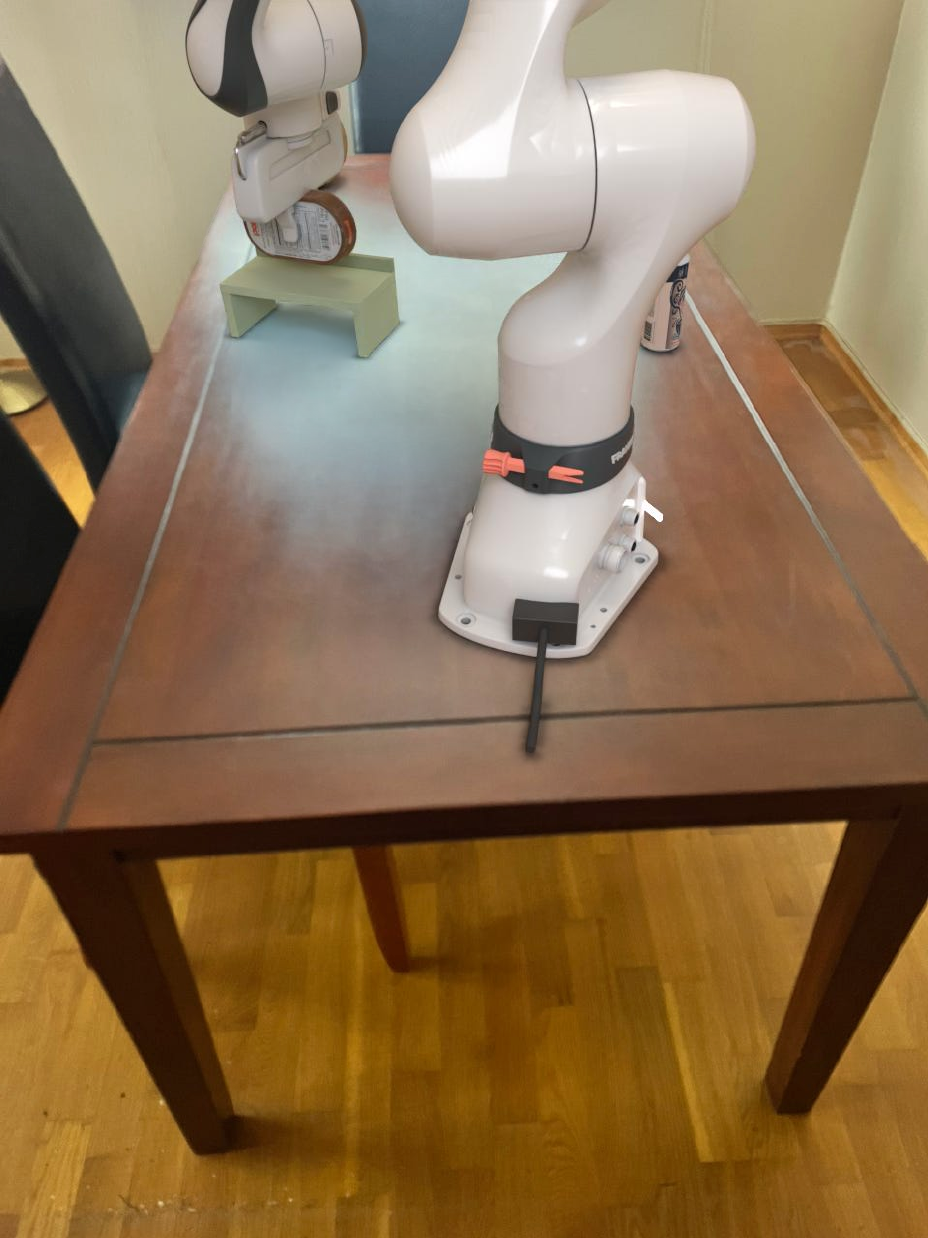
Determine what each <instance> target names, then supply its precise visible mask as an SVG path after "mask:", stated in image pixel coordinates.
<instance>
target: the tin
mask: <svg viewBox="0 0 928 1238" xmlns="http://www.w3.org/2000/svg"><path fill="white" fill-rule="evenodd" d="M293 208H294V213H293V214H292V216H293V218H294V220H295V223H297V224H300V226H301V233H302V237H301V238H300V239H299V240H297V241H296V242H286V241H285V240H284V238H283V232H282V227H281V226H280V224H279V223H278V221H277V220H276V218H273V219H272V220H271V221H269V222H267V223H253V222H247V221H244V220H242V223H243V227H244V230H245V233H246V236H247V237H248V239H249V240H250V243H251V244H252V245H253V246H254V248H255V247H256V248H257V249H258V250H260V251H261V252H262V253H264V254H266V255H268V256H270V257H273V258H279V259H285V260H292V261H298V262H305V263H311V264H317V265H332V264H335V263H337V262H338V261H340V260H341V259H342V258H344V257H346V256H347V255H349V254H350V253H352V252H353V250H354V248H355V246H356V242H357V237H358V236H357V235H358V234H357V233H358V231H357V226H356V221H355V219H354V217H353V214H352V213H351V210H350V209H349V207H348V205H346V204H345V202H343V200H342V199H341V198H339V197H338V196H336V195H335V194H334V193H331V192H329V191H326V190H323V189H322V190H321V189H318V190H314V189H311V190H310V191H309V192H308V193H307V194H305V195H304V196H303V197H302V198H301V199H300V200H299V201H298V202H296V203H295V204H293Z"/></svg>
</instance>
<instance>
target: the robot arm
mask: <svg viewBox="0 0 928 1238" xmlns="http://www.w3.org/2000/svg"><path fill="white" fill-rule="evenodd" d="M611 1H612V0H469V1H468V6H467V11H466V15H465V18H464V22H463V25H462V28H461V31H460V34H459V37H458V40H457V42H456V44H455V46H454V48H453V51H452V53H451V55H450V57H449V59H448V61H447V62H446V65H445V66H444V68H443V69H442V70H441V71H442V72H440V74H439V75H438V77H437V78H436V80H435V82H434V83H433V84H432V85H431V87H430V88H429V89H428V90H427V92H426V93H425V94H424V95H423V96H422V97H421V99H419V101H418V102H417V103H416V104H415V105H413V107H412V108H411V109H410V110H409V112H408V113H407V115H406V116H405V117H404V120H402V123H401V124H400V126H399V129H398V131H397V133H396V135H395V138H394V141H393V143H392V148H391V152H390V157H389V166H388V181H389V182H388V183H389V190H390V195H391V200H392V204H393V207H394V210H395V212H396V214H397V217H398V219H399V221H400V223H401V226H402V227H403V228H404V230H405V232H406V233H407V234H408V236H409V237H410V238H411V239H412V241H413V242H414V243H415V244H416V246H418V247H419V248H420V249H421V250H422V251H423V252H425V253H427V255H429V256H432V257H433V256H434V257H440V258H441V257H442V258H450V259H457V260H458V259H459V260H469V261H471V260H472V261H484V262H494V261H502V260H504V261H505V260H510V259H511V260H512V259H519V258H528V257H535V256H546V255H552V254H562V253H565V256H564V257H563V258H562V260H561V262H560V263H559V264H558V265H557V267H556V268H555V269H554V270H553V271H552V273H551V274H549V275H548V276H547V277H546V278H545V279H544V280H542V281H541V282H539V283H538V284H537V285H535V286H534V287H532V288H531V289H529V290H528V291H527V292H525V293H524V294H523V295H521V296H520V297H519V298H518V299H517V300H516V301H514V303H513V304H512V305H511V306H510V308H509V309H508V311H507V313H506V314H505V316H504V318H503V320H502V322H501V325H500V327H499V331H498V333H497V340H496V341H497V343H496V344H497V383H498V384H497V389H498V390H497V392H498V393H497V394H498V395H497V397H498V402H497V404H496V405H495V409H494V413H493V420H492V424H491V427H490V428H491V429H490V448H488V449H487V450H486V451H485V453H484V455H483V460H482V471H483V475H482V477H481V482H480V485H479V490H478V494H477V498H476V501H475V503H474V505H473V506H472V509H471V511H470V512H468V513H467V514H466V516H465V519H464V521H463V526H462V529H461V532H460V536H459V539H458V542H457V545H456V548H455V552H454V556H453V559H452V561H451V566H450V569H449V571H448V575H447V578H446V582H445V585H444V589H443V591H442V594H441V595H442V596H441V599H440V601H439V606H438V615H437V618H438V619H439V621H440V622H441V623H442V624H443V625H444V626H445V627H447V628H448V629H449V630H450V631H452V632H454V633H455V634H457V635H459V636H461V637H463V638H465V639H467V640H470V641H472V642H474V643H477V644H480V645H483V646H486V647H489V648H492V649H493V648H494V649H496V650H499V651H503V652H507V653H512V654H516V655H522V656H527V657H533V658H534V657H535V658H536V659H535V666H534V676H533V687H532V689H533V690H532V703H531V710H530V716H529V717H530V718H529V725H528V730H527V737H526V743H525V751H526V752H527V753H534V752H535V751H536V747H537V739H538V733H539V724H540V719H541V712H542V711H541V710H542V700H543V689H544V675H545V666H546V665H545V664H546V659H570V658H577V657H583V656H587V655H589V654H591V652H592V651H594V649H595V648H596V647H597V645H598V644H599V643H600V641H601V640H602V639H603V637H604V636H605V635H606V633H607V632H608V631H609V629H610V628H611V626H612V625H613V624H614V623H615V622H616V620H617V618H618V617H619V616H620V615H621V613H622V612H623V610H624V609H625V608H626V607H627V605H628V604H629V603H630V602H631V600H632V599H633V598H634V596H635V594H636V593H637V592H638V590H639V589H640V588H641V587H642V586H643V584H644V583H645V581H646V580H647V579H648V577H649V576H650V575H651V573H653V570H654V569H655V568H656V566H657V565H658V564H659V550H658V549H657V548H656V546H655V545H654V544H653V543H651V542H650V541H649V540H647V539H646V538H645V537H644V527H645V526H644V525H645V524H644V523H645V511H646V512H647V513H648V514H649V515H651V516H652V517H654V518H655V519H656V521H658V522H662V521H663V516H664V515H663V513H661V512H660V511H659V510H658V509H656V508H655V507H654V506H652V505H651V504H650V503H648V501H647V500H646V489H647V481H646V478H644V476H643V474H642V473H641V472H640V470H638V468H637V467H636V464H635V463H634V461H633V459H632V457H631V456H632V452H633V447H634V441H635V435H636V423H635V410H634V407H633V406H632V396H633V388H634V381H635V373H636V367H637V362H638V355H639V349H640V344H641V338H642V331H643V328H644V324H645V322H646V319H647V317H648V314H649V312H650V310H651V308H652V305H653V303H654V301H655V299H656V298H657V296H658V294H659V292H660V291H661V289H662V287H663V286H664V284H665V283H666V281H667V279H668V278H669V276H670V275H671V273H672V272H673V271H674V269H675V268H676V267H677V265H678V264H679V263H680V261H681V260H682V259H683V258H684V257H685V256H686V254H687V253H689V252H691V250H692V249H693V248H694V247H695V246H696V245H697V244H698V243H699V242H700V241H701V240H702V239H703V238H704V237H705V236H707V235H708V234H709V233H710V232H712V231H713V230H714V229H715V228H717V227H718V226H719V225H721V224H722V223H723V222H725V221H726V220H727V219H728V218H729V217H730V216H731V215H732V214H733V213H734V211H735V210H736V208H737V207H738V206H739V204H740V202H741V201H742V199H743V198H744V196H745V194H746V191H747V189H748V187H749V184H750V182H751V179H752V176H753V173H754V168H755V163H756V156H757V135H756V134H757V133H756V129H755V128H756V127H755V122H754V118H753V115H752V112H751V110H750V107H749V105H748V103H747V101H746V99H745V97H744V96H743V94H742V93H741V91H740V90H739V88H738V87H737V86H736V85H735V84H734V83H733V82H732V81H731V80H730V79H729V78H726V77H723V76H717V75H712V74H711V75H710V74H706V73H705V74H704V73H699V72H693V71H684V70H677V69H668V68H658V69H649V70H648V69H647V70H638V71H637V70H636V71H628V72H619V73H608V74H607V73H606V74H599V75H598V74H597V75H588V76H587V75H586V76H585V75H584V76H577V77H575V76H573V75H566V67H565V66H566V50H567V45H568V42H569V38H570V34H571V32H572V30H573V29H574V28H575V27H577V26H578V25H579V24H580V23H582V22H584V21H585V20H587V19H588V18H590V17H592V16H593V15H594V14H595V13H597V12H598V11H600V10H601V9H603V8H604V7H605V6H606V5H608V3H610V2H611ZM368 45H369V39H368V27H367V23H366V18H365V13H364V11H363V9H362V7H361V6H360V4H359V2H358V0H197V1H196V2H195V5H194V7H193V9H192V11H191V13H190V15H189V19H188V23H187V26H186V31H185V38H184V47H185V56H186V61H187V65H188V69H189V72H190V75H191V78H192V80H193V82H194V84H195V86H196V87H197V89H198V90H199V91H200V93H201V94H202V95H203V96H204V97H205V98H206V99H208V100H209V101H210V102H211V103H213V105H214V106H216V107H218V108H220V110H223V111H224V112H226V113H228V114H230V115H232V116H234V117H236V118H242V119H243V125H244V130H243V131H240V133H238V134H237V137H236V138H237V140H236V142H235V146H234V148H233V151H232V154H231V161H230V168H231V180H232V189H233V199H234V204H235V210H236V212H237V213H236V214H237V215H238V217H239V218H240V219H241V220H242V221H243V220H244V221H247V222H253V223H267V222H269V221H271V220H272V219H273V218H276V220H277V221H278V223H279V224H280V226H281V227H282V232H283V238H284V240H285V241H286V242H296V241H297V240H299V239H300V238H301V237H302V233H301V226H300V224H297V223H295V220H294V218H293V216H292V214H293V213H294V208H293V204H295V203H296V202H298V201H299V200H300V199H301V198H302V197H303V196H304V195H305V194H307V193H308V192H309V191H310V190H311V189H314V190H319V188H320V187H319V186H320V185H322V184H323V183H325V182H326V181H327V180H329V179H330V178H332V177H333V176H335V175H336V174H337V173H338V174H340V172H342V170H343V167H344V165H343V163H344V142H343V133H342V124H341V121H342V119H341V116H340V114H339V113H338V112H339V111H340V109H341V106H342V100H341V94H340V91H339V90H338V89H341V88H344V87H345V86H347V85H349V84H352V83H354V82H356V81H357V80H358V79H359V76H360V75H361V73H362V71H363V69H364V67H365V64H366V60H367V54H368ZM344 164H345V163H344ZM338 174H337V175H338ZM337 175H336V176H337ZM336 176H335V177H336Z"/></svg>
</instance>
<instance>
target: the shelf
mask: <svg viewBox="0 0 928 1238" xmlns="http://www.w3.org/2000/svg"><path fill="white" fill-rule="evenodd" d="M254 249H255V253H256V256H254V257H253V258H252V259H251V260H249V261H248V262H247V263H245V264H244V265H243V266H241V267H240V268H239V269H237V270H235V272H233V273H232V274H231V275H229V276H227V278H225V279H224V280H222V281H220V282H219V288H220V292H221V297H222V302H223V307H224V311H225V315H226V320H227V324H228V327H229V328H228V329H229V333H230V337H232V338H237V339H238V338H241V337H242V336H243V335H245V333H246V332H248V331H249V330H250V329H251V328H252V327H254V326H255V325H256V324H257V323H258V322H260V321H261V320H263V318H265V317H266V316H267V315H269V313H271V312H272V311H274V309H276V308H277V307H278V306H277V305H278V304H277V301H280V302H285V303H293V304H299V305H306V306H312V307H313V306H314V307H321V308H328V309H335V310H342V311H350V312H352V317H353V325H354V331H355V340H356V349H357V355H358V357H360V358H364V359H365V358H366V359H367V358H368V357H369V356H370V355H371V354H372V353H373V352H374V351H375V350H377V348H378V347H379V346H380V345H381V344H382V342H383V341H385V339H387V338H388V336H389V335H391V333H393V331H394V330H395V329H396V328H397V327H398V326H399V325H400V315H399V303H398V302H399V301H398V294H397V283H396V271H395V258H394V257H387V256H379V255H370V254H362V253H354V252H351V253H350V254H349V255H347V256H346V257H344V258H342V259H341V260H340V261H338V262H337V263H335V264H332V265H317V264H311V263H305V262H298V261H292V260H285V259H279V258H273V257H270V256H268V255H266V254H264V253H262V252H261V251H260V250H258V249H257V248H256V247H255V246H254Z"/></svg>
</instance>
